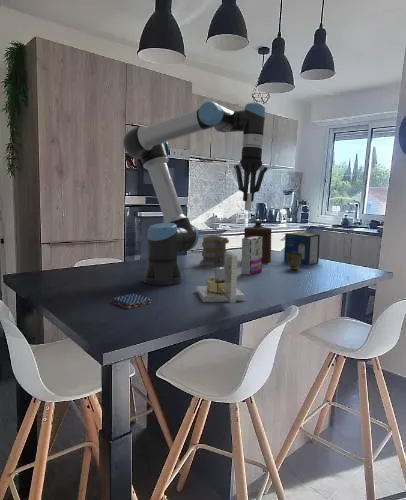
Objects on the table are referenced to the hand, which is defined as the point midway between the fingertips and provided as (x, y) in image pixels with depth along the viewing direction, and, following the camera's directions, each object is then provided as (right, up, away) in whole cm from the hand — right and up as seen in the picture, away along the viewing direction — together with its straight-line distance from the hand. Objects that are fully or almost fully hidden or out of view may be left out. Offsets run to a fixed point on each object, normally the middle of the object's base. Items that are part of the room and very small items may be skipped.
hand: (247, 210), depth 143 cm
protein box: (+36, -22, +59) cm, 73 cm away
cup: (+27, -25, +37) cm, 52 cm away
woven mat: (-40, -33, -22) cm, 57 cm away
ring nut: (-10, -30, -20) cm, 38 cm away
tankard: (-10, -23, +46) cm, 52 cm away
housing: (-11, -31, -13) cm, 36 cm away
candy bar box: (+5, -26, +28) cm, 39 cm away
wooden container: (+13, -22, +61) cm, 66 cm away
